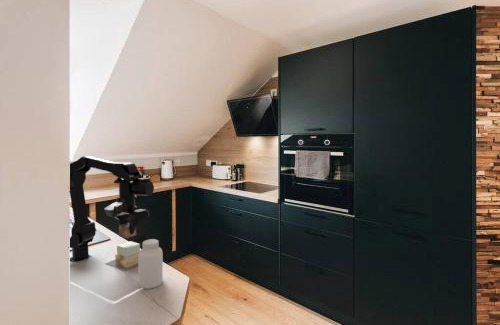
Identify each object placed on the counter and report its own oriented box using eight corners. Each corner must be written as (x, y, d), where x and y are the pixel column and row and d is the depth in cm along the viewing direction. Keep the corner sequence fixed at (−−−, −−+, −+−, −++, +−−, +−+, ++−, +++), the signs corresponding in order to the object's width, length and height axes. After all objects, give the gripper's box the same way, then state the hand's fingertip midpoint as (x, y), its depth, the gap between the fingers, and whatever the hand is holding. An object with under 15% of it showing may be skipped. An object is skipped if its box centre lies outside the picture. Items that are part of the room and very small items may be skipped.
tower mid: (117, 254, 110) (117, 245, 109) (130, 249, 115) (130, 241, 115) (126, 257, 107) (126, 248, 106) (139, 252, 112) (139, 243, 112)
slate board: (104, 265, 110) (104, 263, 110) (126, 256, 119) (126, 255, 119) (125, 272, 103) (125, 271, 103) (147, 263, 112) (147, 261, 112)
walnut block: (119, 236, 109) (118, 225, 109) (129, 233, 113) (128, 222, 113) (126, 238, 107) (126, 226, 107) (136, 235, 111) (136, 224, 111)
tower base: (115, 264, 110) (115, 254, 109) (130, 257, 116) (130, 248, 115) (126, 268, 106) (126, 258, 106) (141, 261, 112) (141, 252, 112)
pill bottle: (155, 290, 91) (154, 246, 90) (133, 287, 93) (132, 244, 92) (167, 279, 99) (166, 238, 98) (146, 277, 101) (146, 236, 100)
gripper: (93, 195, 107) (94, 234, 108) (123, 200, 97) (124, 243, 98) (119, 191, 116) (120, 227, 117) (149, 195, 107) (149, 234, 108)
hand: (127, 233), depth 110 cm, fingers closed on walnut block, 4 cm apart
